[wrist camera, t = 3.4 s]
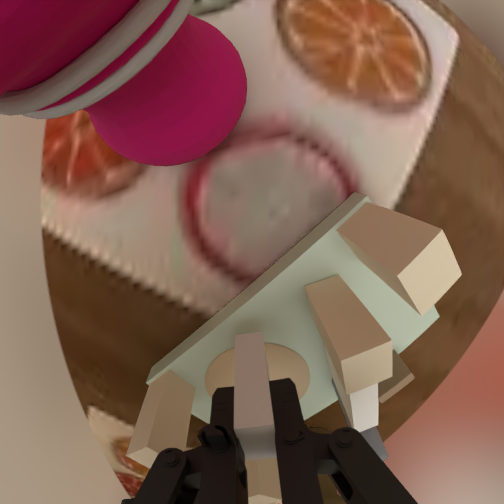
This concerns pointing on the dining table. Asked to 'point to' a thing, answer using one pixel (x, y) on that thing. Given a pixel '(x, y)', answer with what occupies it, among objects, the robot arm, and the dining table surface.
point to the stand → (303, 327)
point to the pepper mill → (123, 73)
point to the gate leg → (351, 348)
